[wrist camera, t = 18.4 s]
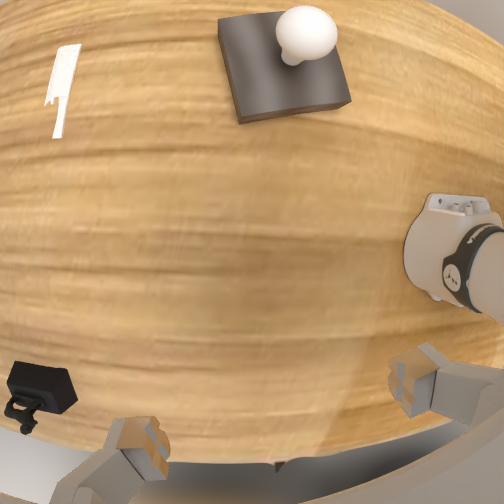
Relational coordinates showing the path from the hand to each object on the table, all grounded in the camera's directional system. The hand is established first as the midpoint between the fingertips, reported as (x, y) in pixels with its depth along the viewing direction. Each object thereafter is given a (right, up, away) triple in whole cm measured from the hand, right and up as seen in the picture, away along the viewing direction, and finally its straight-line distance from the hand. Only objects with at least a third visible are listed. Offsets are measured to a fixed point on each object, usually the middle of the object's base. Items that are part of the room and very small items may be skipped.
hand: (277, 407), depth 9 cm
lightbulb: (+4, +28, +23) cm, 37 cm away
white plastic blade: (-29, +29, +25) cm, 48 cm away
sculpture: (-39, -19, +35) cm, 56 cm away
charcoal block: (+3, +30, +27) cm, 41 cm away
